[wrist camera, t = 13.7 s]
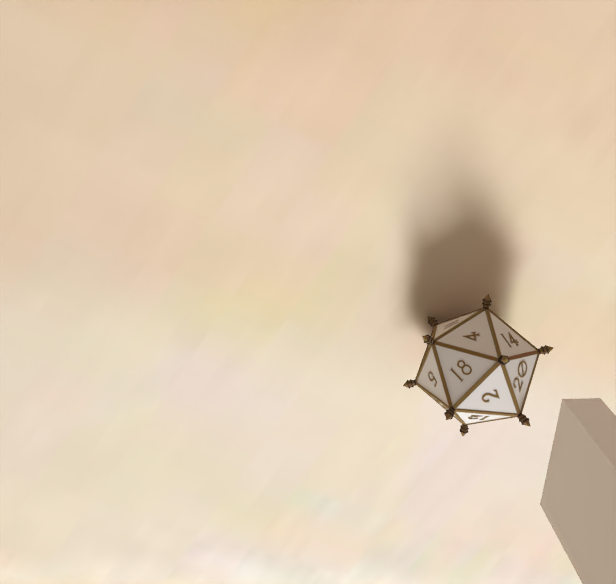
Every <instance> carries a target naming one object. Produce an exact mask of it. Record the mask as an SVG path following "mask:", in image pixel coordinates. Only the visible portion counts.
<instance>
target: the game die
mask: <svg viewBox="0 0 616 584" xmlns="http://www.w3.org/2000/svg"><path fill="white" fill-rule="evenodd" d="M490 302H491V300H490V297H489V294H488V295H487V296H486V298H485V299H483V303H482V304H483V308H482V309H479V310H476V311H473V312H470V313H467V314H464V315H461V316H459V317H456V318H453V319H450V320H447V321H444V322H441V323H437V320H435V318H431V317H428V323H429V324H431V326H434V328H433V331H432V334H431V336H429V335H426V336H423V339H424V343H427V344H428V345H427V348H426V351H425V354H424V356H423V359H422V362H421V365H420V368H419V371H418V373H417V376H416V379H415V380H410V381H408V380H407V382H406V383H405V384H404V385H403V386H406V387H408V388H410V387H413V386H415V385H417V386H418V387H420V388H421V389H422V390H423V391H424V392H426V393H427V394H428V395H429V396H430V397H431V398H433V399H434V400H435V401H436V402H437V403H438V404H440V405H441V406H442V407H443V408H444V409H446V412H445V416H446V420H448V419H452V418H453V416H454V417H455V418H456V419H457V420H459V421H460V422H461V423H462V426H461V429H460V432H461V434H462V436H464V435H465V434H466V433H467V432H468V429H469V428H468V426H467V425H469V424H475V423H482V422H488V421H494V420H500V419H507V418H513V417H518V418H519V422H521V423H522V425H527V426H530V423H529V418H527V417H526V416H524V415H523V414H522V411H523V407H524V404H525V401H526V397H527V394H528V391H529V387H530V384H531V381H532V377H533V374H534V371H535V367H536V364H537V361H538V357H539V354H544V355H545V354H546V353H548V354H549V352H550V351H551V350H552V349H553V347H549V346H546V345H545V346H544V347H542V346H541V348H540V349H537V348H536V347H535V346H534V345H532V344H531V343H530V342H529V341H527V340H526V339H525V338H524V337H523V336H521V335H520V334H519V333H518V332H516V331H515V330H514V329H513V328H512V327H510V326H509V325H508V324H507V323H505V322H504V321H503V320H502V319H501V318H499V317H498V316H497V315H496V314H494V313H493V312H492V311H491V310H490V309H489V306H490V305H491V304H490Z"/></svg>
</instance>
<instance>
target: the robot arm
mask: <svg viewBox="0 0 616 584" xmlns="http://www.w3.org/2000/svg"><path fill="white" fill-rule="evenodd" d="M540 505H541V507H542V509H543V510H544V512H545V514H546V516H547V518H548V520H549V522H550V524H551V525H552V527H553V529H554V531H555V533H556V535H557V537H558V539H559V540H560V542H561V544H562V546H563V548H564V550H565V552H566V553H567V555H568V557H569V559H570V561H571V563H572V565H573V567H574V568H575V570H576V572H577V574H578V576H579V578H580V580H581V581H582V583H583V584H616V416H615V415H614V414H613V412H612V411H611V410H610V409H609V408H608V407H607V405H606V404H605V403H604V402H603V401H602V400H601V399H600V398H593V399H562V403H561V408H560V413H559V418H558V422H557V427H556V432H555V437H554V441H553V446H552V451H551V456H550V460H549V465H548V470H547V475H546V479H545V484H544V489H543V494H542V499H541V503H540Z"/></svg>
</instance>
